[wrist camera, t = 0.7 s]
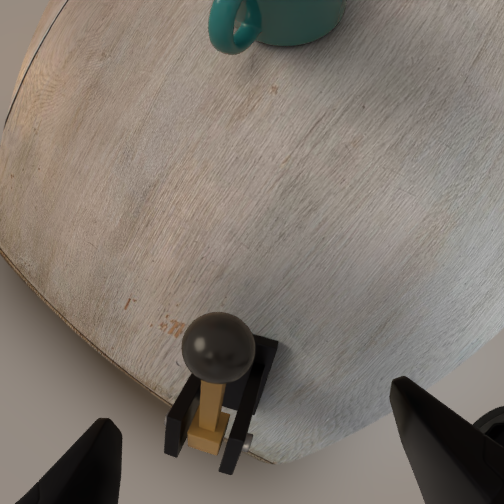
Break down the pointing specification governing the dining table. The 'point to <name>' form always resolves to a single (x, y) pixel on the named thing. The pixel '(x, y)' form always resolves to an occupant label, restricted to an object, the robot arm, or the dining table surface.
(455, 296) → the dining table surface
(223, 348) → the switch lever
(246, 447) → the switch bracket
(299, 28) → the cup
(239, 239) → the dining table surface
